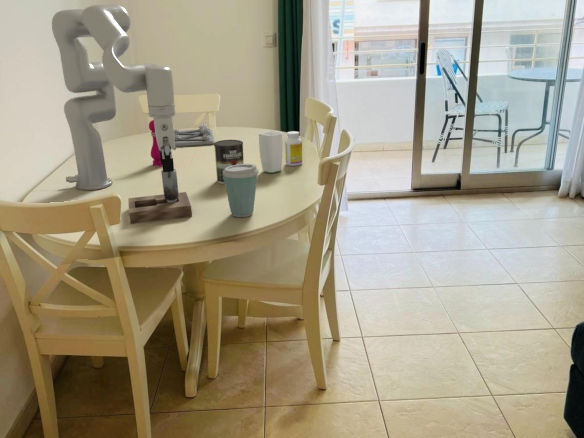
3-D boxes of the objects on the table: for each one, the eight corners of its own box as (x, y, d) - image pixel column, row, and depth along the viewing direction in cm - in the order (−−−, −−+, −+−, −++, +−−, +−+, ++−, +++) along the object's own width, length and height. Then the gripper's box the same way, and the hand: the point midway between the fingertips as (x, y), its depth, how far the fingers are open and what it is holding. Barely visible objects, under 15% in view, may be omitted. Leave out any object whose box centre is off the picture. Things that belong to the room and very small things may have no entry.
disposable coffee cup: (218, 217, 161) (215, 169, 156) (235, 206, 171) (232, 160, 165) (251, 221, 158) (248, 172, 152) (265, 209, 167) (263, 162, 162)
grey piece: (169, 135, 275) (168, 122, 273) (212, 133, 279) (211, 119, 276) (167, 149, 248) (166, 134, 245) (215, 146, 251) (213, 131, 249)
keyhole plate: (130, 223, 158) (128, 212, 157) (129, 208, 171) (128, 198, 170) (192, 216, 163) (191, 205, 162) (187, 202, 175) (186, 191, 174)
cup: (272, 167, 212) (271, 130, 206) (285, 171, 207) (284, 132, 201) (258, 171, 207) (256, 133, 202) (271, 175, 202) (269, 136, 197)
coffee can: (249, 182, 195) (246, 143, 190) (221, 186, 191) (218, 147, 186) (239, 175, 203) (237, 138, 198) (213, 178, 200) (210, 141, 195)
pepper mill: (165, 167, 217) (159, 117, 210) (148, 166, 218) (142, 117, 211) (172, 162, 223) (167, 114, 216) (156, 161, 225) (150, 113, 218)
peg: (165, 214, 165) (160, 173, 160) (164, 209, 170) (159, 169, 165) (182, 212, 166) (178, 172, 162) (180, 207, 171) (176, 167, 166)
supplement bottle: (305, 163, 216) (305, 132, 211) (294, 167, 212) (293, 135, 207) (293, 161, 220) (292, 130, 216) (282, 164, 216) (281, 132, 211)
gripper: (177, 115, 150) (182, 174, 157) (172, 104, 165) (177, 158, 172) (150, 116, 148) (156, 176, 155) (147, 106, 164) (153, 160, 170)
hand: (167, 167), depth 163 cm, fingers open, 9 cm apart
